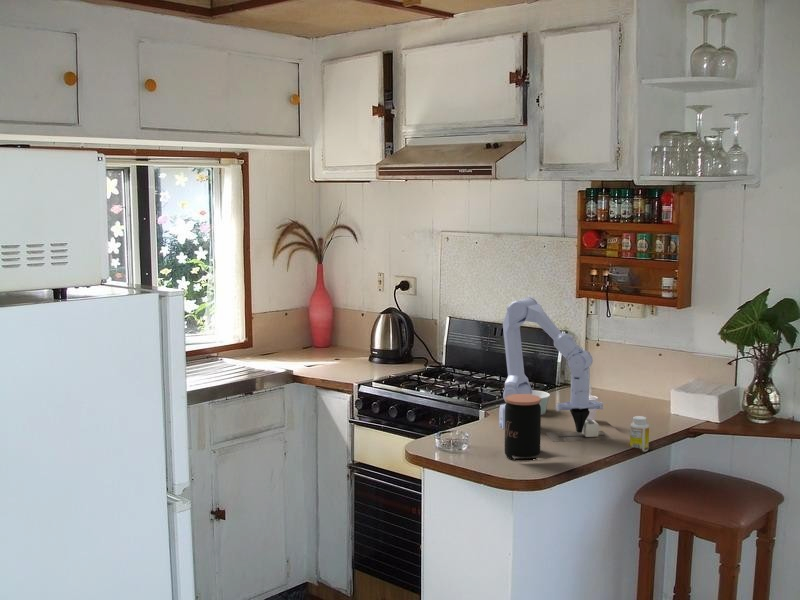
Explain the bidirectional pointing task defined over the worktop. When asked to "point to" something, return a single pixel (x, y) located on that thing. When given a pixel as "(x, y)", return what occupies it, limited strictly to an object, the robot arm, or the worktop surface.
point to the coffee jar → (522, 426)
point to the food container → (542, 399)
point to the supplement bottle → (639, 433)
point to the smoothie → (592, 411)
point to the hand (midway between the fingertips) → (579, 431)
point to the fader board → (576, 436)
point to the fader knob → (590, 428)
